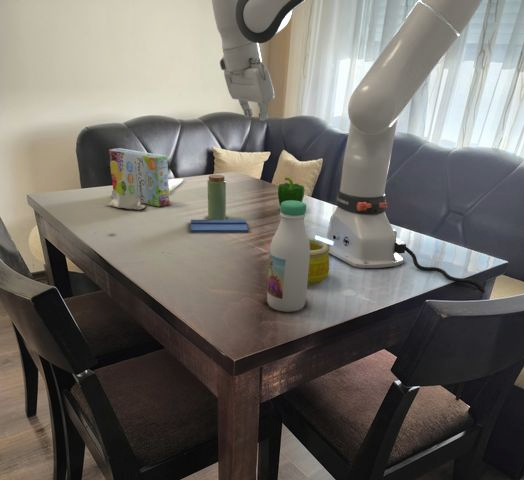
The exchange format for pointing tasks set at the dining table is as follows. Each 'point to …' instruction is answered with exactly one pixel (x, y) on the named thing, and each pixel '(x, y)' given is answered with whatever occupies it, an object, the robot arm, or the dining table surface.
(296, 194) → the bell pepper
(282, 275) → the milk bottle
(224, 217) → the spice jar
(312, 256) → the mug
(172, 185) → the unicorn horn
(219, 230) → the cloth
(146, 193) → the snack box
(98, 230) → the dining table surface
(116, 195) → the fabric
